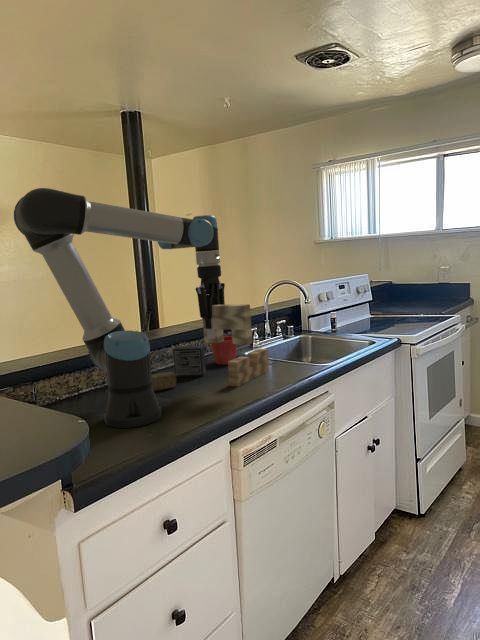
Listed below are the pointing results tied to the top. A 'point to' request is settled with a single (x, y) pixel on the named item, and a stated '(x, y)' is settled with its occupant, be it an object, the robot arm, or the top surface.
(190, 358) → the small box
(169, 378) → the stone block
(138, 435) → the top surface
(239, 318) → the beige wooden slab
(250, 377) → the oak board
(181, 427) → the top surface
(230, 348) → the flower pot
